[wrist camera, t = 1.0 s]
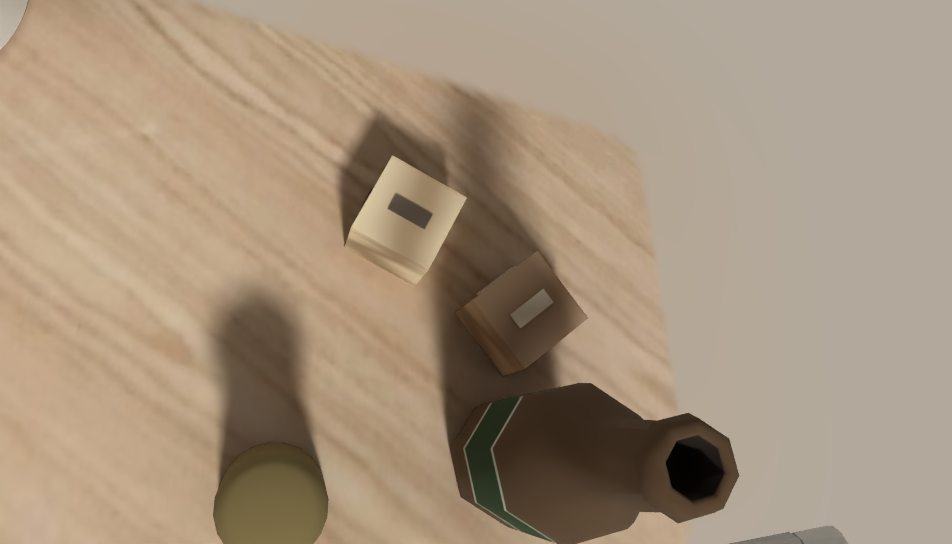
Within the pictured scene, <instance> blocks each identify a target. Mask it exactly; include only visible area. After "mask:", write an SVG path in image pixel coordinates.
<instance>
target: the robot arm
mask: <svg viewBox="0 0 952 544" xmlns="http://www.w3.org/2000/svg"><path fill="white" fill-rule="evenodd" d="M27 3H28V0H0V50H1V49H2V47H3V46H4V45H5V44H6V43H7V42H8V40H9V39H10V38H11V37H12V35H13V34H14V32H15V31H16V29H17V27H18V26H19V24H20V22H21V20H22V17H23V15H24V13H25V10H26V7H27ZM730 544H848V543H847V541H846V540H845V538H844V537H843V535H842V533H841V532H840V531H838V530H837V529H836V528H835V527H833V526H824V527H819V528H814V529H810V530H804V531H799V532H794V533H790V532H786V533H781V534H777V535H772V536H767V537H761V538H756V539H751V540H746V541H741V542H736V543H730Z"/></svg>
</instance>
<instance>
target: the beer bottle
mask: <svg viewBox="0 0 952 544" xmlns="http://www.w3.org/2000/svg"><path fill="white" fill-rule="evenodd" d="M450 450H451V455H452V459H453V464H454V468H455V473H456V478H457V482H458V487H459V491H460V496H461V497H462V498H463V499H465V500H466V501H468V502H469V503H471V504H473V505H474V506H476V507H477V508H479V509H480V510H482V511H483V512H485V513H486V514H488V515H490V516H491V517H493V518H494V519H496V520H497V521H499V522H500V523H502V524H504V525H506V526H507V527H509V528H512V529H515V530H518V531H521V532H524V533H527V534H530V535H533V536H536V537H539V538H542V539H545V540H548V541H551V542H553V543H556V544H577V543H580V542H584V541H587V540H591V539H594V538H598V537H601V536H605V535H608V534H611V533H615V532H618V531H622V530H625V529H628V528H629V527H630V526H631V525H632V524H633V523H634V522H635V520H636V518H637V516H638V514H639V512H662V513H663V514H665V515H666V516H668V517H669V518H671V519H672V520H674V521H675V522H677V523H681V522H684V521H687V520H691V519H694V518H698V517H701V516H704V515H708V514H711V513H714V512H717V511H719V510H721V509H723V508H724V506H725V504H726V502H727V500H728V498H729V496H730V493H731V491H732V489H733V487H734V485H735V483H736V481H737V479H738V477H739V473H738V470H737V466H736V462H735V459H734V455H733V451H732V448H731V444H730V440H729V438H727V437H726V436H724V435H723V434H721V433H720V432H718V431H716V430H715V429H714V428H712V427H711V426H709V425H708V424H706V423H705V422H703V421H702V420H700V419H699V418H697V417H695V416H693V415H691V414H689V413H686V414H682V415H678V416H674V417H670V418H666V419H662V420H658V421H654V420H643V419H642V418H641V417H640V416H639V415H638V414H636V413H635V412H633V411H632V410H630V409H629V408H627V407H626V406H624V405H623V404H621V403H620V402H618V401H617V400H615V399H614V398H612V397H611V396H609V395H608V394H606V393H605V392H603V391H602V390H600V389H599V388H597V387H596V386H594V385H593V384H591V383H577V384H573V385H568V386H563V387H559V388H554V389H549V390H545V391H540V392H535V393H530V394H526V395H522V396H517V397H513V398H509V399H504V400H500V401H496V402H491V403H487V404H483V405H480V406H478V407H475V408H474V410H473V412H472V413H471V415H470V417H469V418H468V420H467V422H466V423H465V425H464V427H463V428H462V430H461V432H460V433H459V435H458V437H457V438H456V440H455V442H454V443H453V445H452V447H451V448H450Z"/></svg>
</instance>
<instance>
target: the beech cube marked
mask: <svg viewBox="0 0 952 544" xmlns="http://www.w3.org/2000/svg"><path fill="white" fill-rule="evenodd" d="M466 199H467V197H465V196H463V195H461V194H460V193H458V192H456V191H454V190H453V189H451V188H449V187H447V186H446V185H444V184H442V183H440V182H438V181H437V180H435V179H433V178H431V177H430V176H428V175H426V174H424V173H423V172H421V171H419V170H417V169H415V168H414V167H412V166H410V165H408V164H407V163H405V162H403V161H401V160H400V159H398V158H396V157H394V156H392V157H391V159H390V161H389V162H388V164H387V166H386V167H385V169H384V171H383V173H382V174H381V176H380V178H379V180H378V181H377V183H376V185H375V187H374V188H373V190H372V189H371V191H370V193H369V194H368V196H367V198H366V199H365V201H364V203H363V206H362V209H361V211H360V213H359V214H358V216H357V218H356V220H355V221H354V223H353V225H352V226H351V229H350V232H349V235H348V238H347V241H346V244H345V248H347V249H348V250H350V251H352V252H354V253H356V254H358V255H359V256H361V257H363V258H365V259H367V260H368V261H370V262H372V263H374V264H376V265H378V266H379V267H381V268H383V269H385V270H387V271H389V272H390V273H392V274H394V275H396V276H398V277H399V278H401V279H403V280H405V281H407V282H409V283H410V284H412V285H414V286H415V285H416V284H417V283H418V282H419V280H420V279H421V278H422V277H423V276H424V275H425V273H426V272H427V271H428V270H429V268H430V266H431V264H432V262H433V260H434V259H435V257H436V255H437V253H438V251H439V249H440V247H441V245H442V244H443V242H444V240H445V238H446V236H447V234H448V232H449V230H450V229H451V227H452V225H453V223H454V221H455V219H456V217H457V216H458V214H459V212H460V210H461V208H462V206H463V204H464V202H465V201H466Z"/></svg>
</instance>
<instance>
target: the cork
mask: <svg viewBox="0 0 952 544" xmlns="http://www.w3.org/2000/svg"><path fill="white" fill-rule="evenodd" d="M327 513H328V496H327V492H326V487H325V483H324V479H323V475H322V472H321V470H320V469H319V467H318V466H317V464H316V463H315V461H314V459H313V458H311V457H310V456H309V455H308V454H306V453H305V452H304V451H303V450H301V449H300V448H297V447H294V446H292V445H289V444H286V443H265V444H262V445H258V446H255V447H252V448H250V449H249V450H247V451H246V452H244V453H242V454H241V455H239V456H238V457H237V458H236V459H235V460H234V461H233V463H232V464H231V465H230V466H229V467H228V469H227V470H226V472H225V474H224V476H223V479H222V481H221V484H220V486H219V489H218V491H217V493H216V496H215V501H214V512H213V517H214V522H215V526H216V530H217V534H218V536H219V537H220V539H221V540H222V542H223V543H224V544H313V543H314V542H315V541H316V540H317V538H318V537H319V536H320V534H321V532H322V529H323V527H324V524H325V522H326V519H327Z"/></svg>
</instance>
